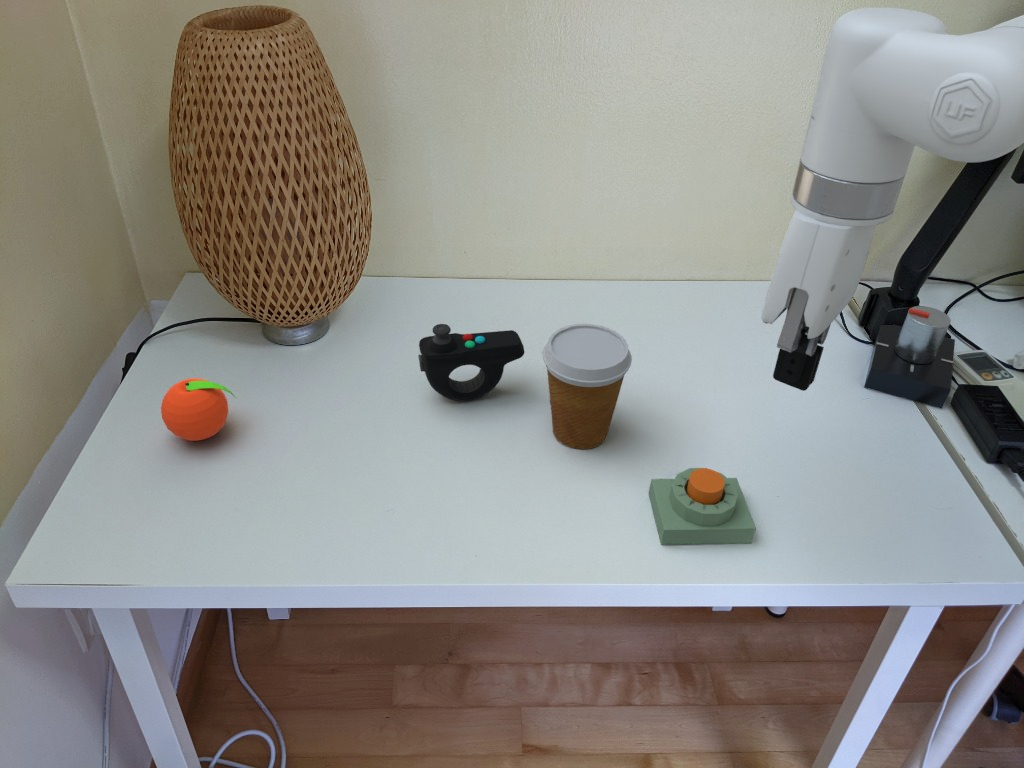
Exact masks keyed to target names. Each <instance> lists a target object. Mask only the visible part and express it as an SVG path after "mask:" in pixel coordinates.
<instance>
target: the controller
mask: <svg viewBox="0 0 1024 768" xmlns="http://www.w3.org/2000/svg"><path fill="white" fill-rule="evenodd" d="M451 331H452V329H451V327H450V326H449V325H448V324H445V323H438V324H436V325H434V326H433V327H432V333H433V334H434V335H429V336H425V337H422V338H421V339H420V340H419V342H418V347H419V353H420V354H418V361H419V362H418V363H419V369H420V372H421V373H422V372H424V374H425V377H426V380H427V381H428V383H429V385H430V387H431V388H432V389H433V390H434V391H435V392H436V393H438V394H439V395H440V396H442V397H444V398H447V399H450V400H455V401H471V400H475V399H479V398H481V397H483V396H485V395H487V394H488V393H490V392H491V391H492V390H494V389H495V388H496V387H497V385H498V384H499V383H500V381H501V379H502V377H503V374H504V369H505V366H506V365H507V364H509V363H512V362H514V361H516V360H518V359H521V358H523V356H524V355H525V347H524V344H523V341H522V340H521V337H520V335H519V334H518V332H517V331H515V330H514V329H512V330H511V329H510V330H497V331H487V332H486V331H484V332H475V333H472V332H471V333H457V332H454V333H451ZM463 366H474V367H477V368H479V372H478V373H477V374H476V375H475V376H474V377H472V378H471V379H468V380H463V381H462V380H461V381H460V380H455V379H453V378H451V377H450V376H451V373H452V372H453V371H455V370H456V369H458V368H460V367H463Z"/></svg>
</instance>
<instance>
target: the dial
mask: <svg viewBox="0 0 1024 768" xmlns="http://www.w3.org/2000/svg"><path fill="white" fill-rule="evenodd" d="M951 323H952V322H951V318H950V316H949V315H948V314H946V313H945V312H944V311H942V310H940V309H938V308H934V307H931V306H926V305H916V306H912V307H909V309H908V311H907V313H906V316H905V318H904V322H903V324H902V325H901V326H902V329H901V331H900V334H899V336H898V339H897V342H896V344H895V347H894V350H895V352H896V354H897V355H898V356H900V357H901V358H903V359H904V360H907V361H909V362H912V363H917V364H928V363H931V362H933V361H934V360H935V358H936V355H937V353H938V351H939V348H940V346H941V344H942V341H943V339H944V337H946V334H947V333H948V330H949V327H950V325H951Z"/></svg>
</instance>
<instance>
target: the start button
mask: <svg viewBox="0 0 1024 768" xmlns="http://www.w3.org/2000/svg"><path fill="white" fill-rule="evenodd" d="M700 468H701V469H697V470H695V471H693V472H692V473H691V474H690V477H689V482H688V487H687V493H688V495H689V497H690V498H691V499H692V500H693V501H695V502H698V503H701V504H703V505H713V504H716V503H717V502H719V501H720V500H721V497H722V494H723V490H724V486H725V481H724V479H723V477H722V476H721V475H720V474H719V473H720V472H719V471H716V470H713V469H711V468H707V467H700ZM706 468H707V469H706ZM718 472H719V473H718Z"/></svg>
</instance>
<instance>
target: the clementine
mask: <svg viewBox="0 0 1024 768" xmlns="http://www.w3.org/2000/svg"><path fill="white" fill-rule="evenodd" d="M224 391H225V392H227V393H229V394H231V396H233V397H234V398H236V399H237V397H236V396H235V394H234V393H233V392H232V391H231V390H230V389H228V388H227V387H226V386H224V385H222V384H220V383H217V382H213V381H210V380H207V379H205V378H195V377H193V378H186V379H183V380H180V381H179V382H177V383H174V384H173V385H172V386H171V387H169V389H168V390H167V391H166V393H165V394H164V395H163V399H162V402H161V407H160V414H161V419H162V421H163V423H164V425H165V426H166V428H167V430H168V431H169V432H171V434H173V435H174V436H176V437H178V438H180V439H183V440H186V441H190V442H194V441H195V442H196V441H197V442H198V441H202V440H206V439H209V438H211V437H213V436H215V435H217V433H218V432H220V431H221V429H222V428H223V426H224V425H225V424H226V422H227V419H228V415H229V404H228V403H229V402H228V399H227V396H226V395H225V393H224Z"/></svg>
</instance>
